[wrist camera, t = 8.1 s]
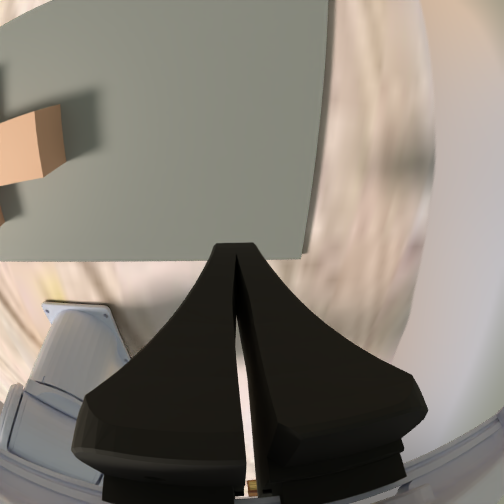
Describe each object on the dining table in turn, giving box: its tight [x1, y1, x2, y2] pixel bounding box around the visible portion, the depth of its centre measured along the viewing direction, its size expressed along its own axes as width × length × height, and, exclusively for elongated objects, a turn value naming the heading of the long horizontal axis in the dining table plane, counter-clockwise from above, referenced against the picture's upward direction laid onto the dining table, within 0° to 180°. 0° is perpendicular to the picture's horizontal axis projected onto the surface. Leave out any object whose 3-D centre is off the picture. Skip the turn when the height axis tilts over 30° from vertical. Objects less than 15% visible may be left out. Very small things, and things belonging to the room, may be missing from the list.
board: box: [0, 0, 328, 262], centre depth 14 cm, size 20×34×1 cm, turn 87°
